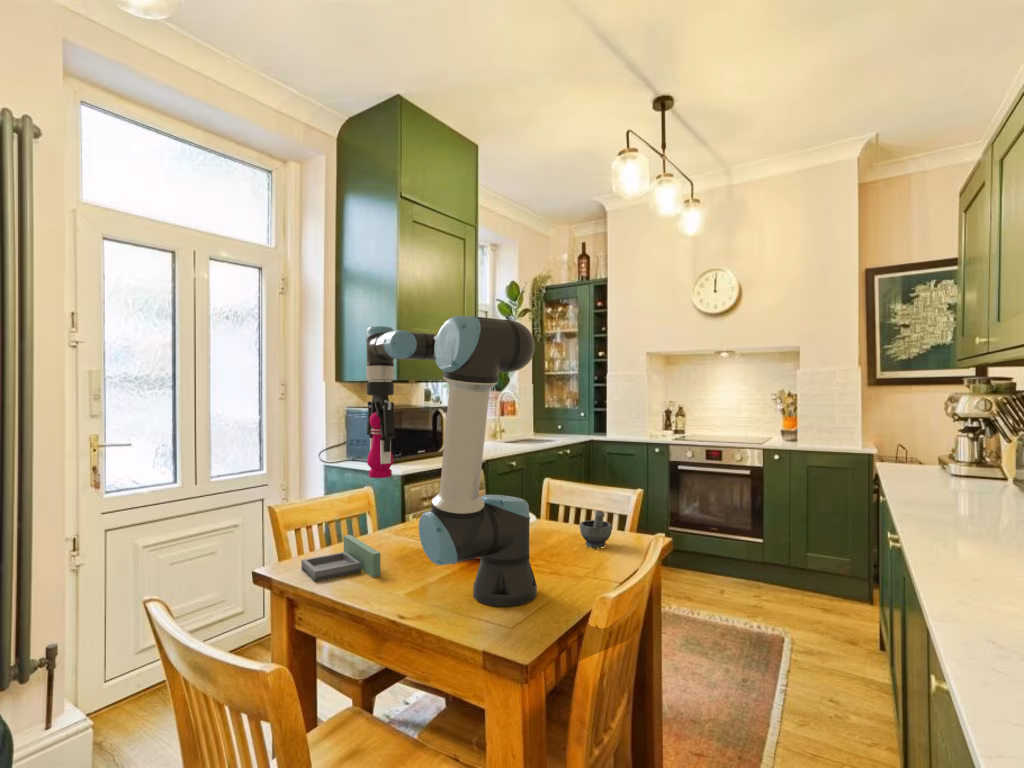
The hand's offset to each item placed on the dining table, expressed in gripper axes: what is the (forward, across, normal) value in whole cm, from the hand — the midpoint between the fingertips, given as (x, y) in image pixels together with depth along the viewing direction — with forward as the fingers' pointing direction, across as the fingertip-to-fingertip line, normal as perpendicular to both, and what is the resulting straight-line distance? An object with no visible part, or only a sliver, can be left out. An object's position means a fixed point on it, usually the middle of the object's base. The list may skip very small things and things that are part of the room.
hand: (380, 461), depth 152 cm
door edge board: (+28, 0, +6) cm, 29 cm away
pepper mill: (+4, 0, 0) cm, 4 cm away
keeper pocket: (+28, 0, +14) cm, 31 cm away
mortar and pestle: (+28, -26, -59) cm, 71 cm away
